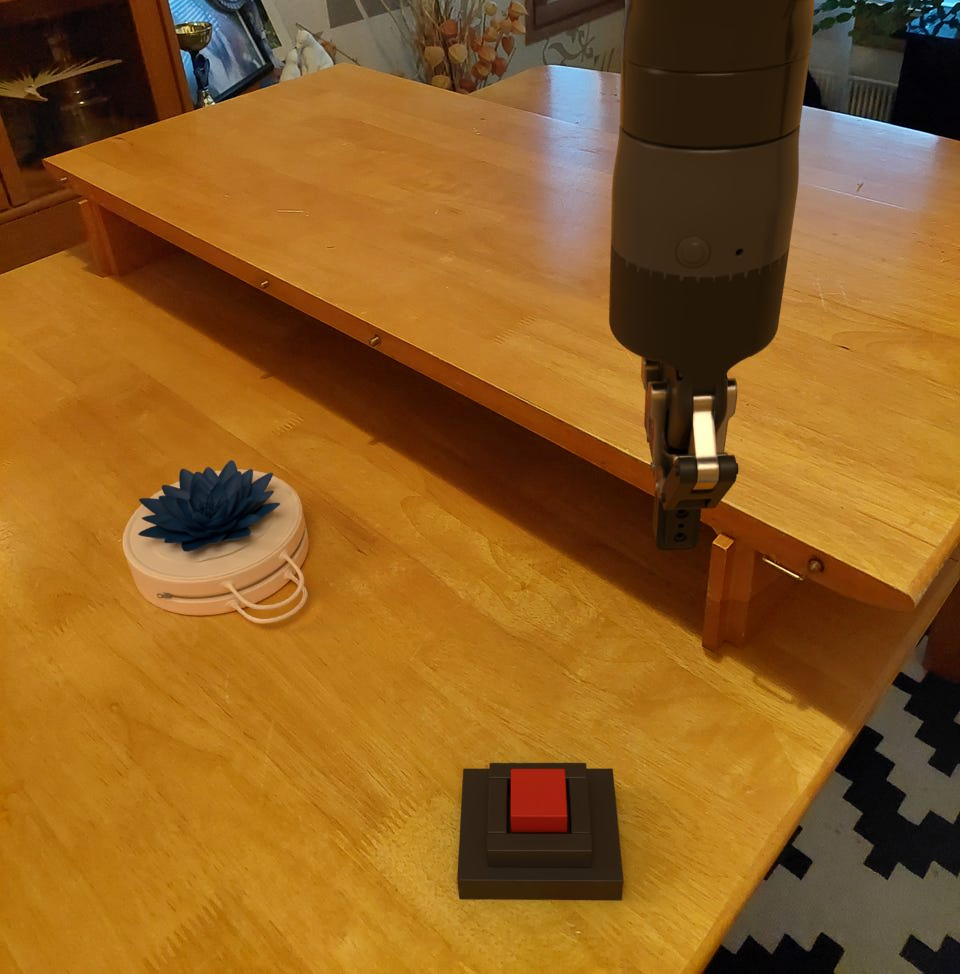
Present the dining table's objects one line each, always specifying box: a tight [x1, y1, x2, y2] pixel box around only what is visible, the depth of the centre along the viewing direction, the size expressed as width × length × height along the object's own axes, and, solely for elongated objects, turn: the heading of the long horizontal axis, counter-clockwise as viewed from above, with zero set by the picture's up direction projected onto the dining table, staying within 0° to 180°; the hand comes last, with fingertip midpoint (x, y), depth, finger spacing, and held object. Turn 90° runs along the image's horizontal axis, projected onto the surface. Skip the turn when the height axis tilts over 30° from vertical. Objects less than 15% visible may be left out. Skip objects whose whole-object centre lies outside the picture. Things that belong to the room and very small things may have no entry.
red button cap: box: [511, 769, 567, 832], centre depth 57 cm, size 3×3×2 cm
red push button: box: [456, 762, 625, 901], centre depth 59 cm, size 10×8×4 cm
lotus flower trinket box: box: [121, 459, 310, 625], centre depth 81 cm, size 7×16×20 cm
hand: (674, 540), depth 50 cm, fingers closed
